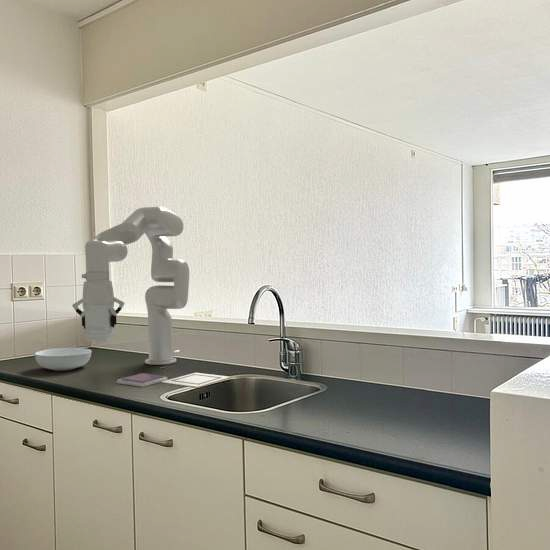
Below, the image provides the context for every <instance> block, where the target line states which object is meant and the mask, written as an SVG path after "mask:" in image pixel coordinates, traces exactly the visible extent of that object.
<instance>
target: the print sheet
mask: <svg viewBox="0 0 550 550" xmlns="http://www.w3.org/2000/svg"><path fill="white" fill-rule="evenodd" d="M230 378H231V376H227V375H219V374H218V375H217V374H212V373H211V374H210V373H209V374H208V373H202V372H201V373H200V372H193V373H189V374H186V375H181V376H178V377H174V378H171V379H167V380H166V381H163V382H160V383H162V384H168V385H169V384H170V385H175V386H176V385H177V386H182V387H183V386H184V387H188V388H190V387H191V388H196V389H197V388H200V387H204V386H207V385H210V384H213V383H218V382H220V381H224V380H226V379H227V380H228V379H230Z"/></svg>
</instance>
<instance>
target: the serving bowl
mask: <svg viewBox="0 0 550 550" xmlns="http://www.w3.org/2000/svg"><path fill="white" fill-rule="evenodd" d="M91 356H92V349H89V348H86V347H85V348H84V347H62V348H60V347H58V348H49V349H43V350H39V351H36V352H35V353H34V357H35V361H36V363H37V364H38V365H39V366H40V367H41V368H44V369H47V370H50V371H51V370H52V371H55V372H61V371H62V372H63V371H64V372H65V371H71V370H75V369H77V368H80V367H82V366H84V365H86V364H87V363H88V362H90V359H91Z"/></svg>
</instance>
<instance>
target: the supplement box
mask: <svg viewBox="0 0 550 550" xmlns="http://www.w3.org/2000/svg"><path fill="white" fill-rule="evenodd" d="M84 330H85V342H107V341H110V340H113V339H114V338H115V337H114V335H115V333H114V332H115V331H114V327H112V313H111V312H110V310H107V304H95V305H89V310H85V329H84Z"/></svg>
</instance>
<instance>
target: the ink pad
mask: <svg viewBox="0 0 550 550" xmlns="http://www.w3.org/2000/svg"><path fill="white" fill-rule="evenodd" d="M166 380H168V376H165V375H160V374H159V375H158V374H152V373H151V374H150V373H137V374H134V375H130V376H126V377H121V378H119V379H116V383H117V384H119V385H128V386H134V387H139V388H144V387H147V386H151V385H155V384H158V383H161V382H163V381H166Z"/></svg>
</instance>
